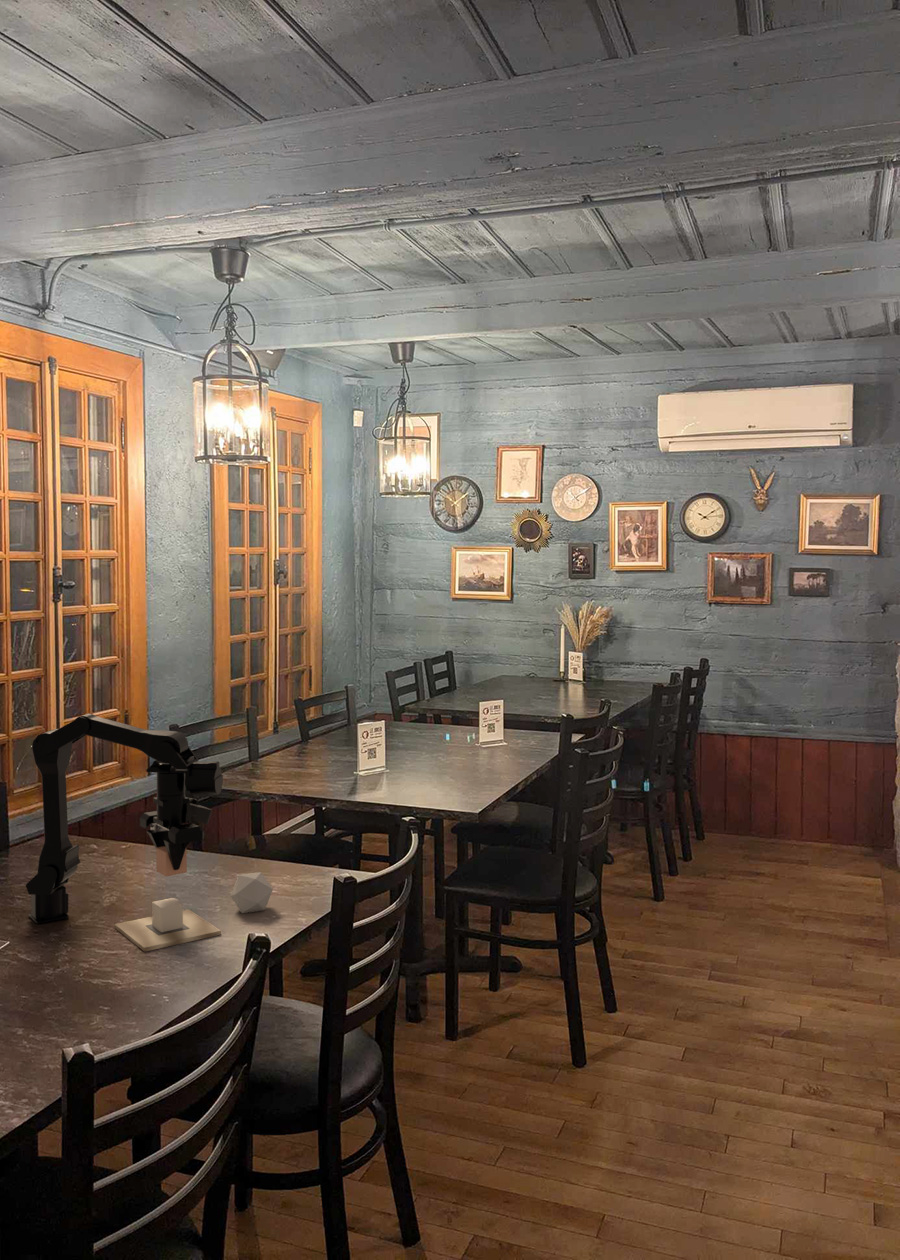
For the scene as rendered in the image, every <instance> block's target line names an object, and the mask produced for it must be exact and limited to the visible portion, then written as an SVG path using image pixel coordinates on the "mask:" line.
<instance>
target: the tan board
mask: <svg viewBox="0 0 900 1260" xmlns="http://www.w3.org/2000/svg"><path fill="white" fill-rule="evenodd" d="M114 929H116V930H117V931H118V932H119V933H120V934H121V935H123V936H124V937H126V938H127V939H128V940H129V941H131V943H133V944H134V945H136V947H137V948H140V949H141V951H143V952H149V951H153V950H159V949H162V948H163V949H164V948H167V947H171V946H177V945H181V944H185V943H190V942H193V941H198V940H202V939H206V938H211V937H217V936H220V935H222V930H221V929H219V928H217V927H216V926H215V925H213V924H212V923H210V922H209V921H208V920H205V919H204V918H202V917H201V916H200V915H198V914H196V913H195V912H193V911H192V910H190V909H189V908H188V909H187V908H186V909H183V928H179V929H174V930H170V931H165V932H160V931H159V930H157V929H156V928H154V927H153V926H152V916H146V917H143V918H138V919H134V920H133V919H132V920H129V921H123V922H118V923H115V924H114Z"/></svg>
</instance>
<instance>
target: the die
mask: <svg viewBox="0 0 900 1260" xmlns="http://www.w3.org/2000/svg"><path fill="white" fill-rule="evenodd" d="M273 889H274V888H273V886H271V884H270V882H268V880H267V878H266V876H265V875H264V874H263V872H260V871H259V872H251V873H243V874H238V875H237V877H236V881H235V883H234V885H233V888H232V891H231V892H230V895H229V896H230V897H231V899H232V901H233V902H234V904H235V906H236V907H237V908H238V910H239V911H240V913H241V914H249V913H254V912H255V911H256V912H261V911H266V909H267V905H268V903H269V900H270V899H271V895H272V893H273ZM248 912H249V913H248Z"/></svg>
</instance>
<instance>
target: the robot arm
mask: <svg viewBox="0 0 900 1260" xmlns="http://www.w3.org/2000/svg"><path fill="white" fill-rule="evenodd" d="M86 736H88V737H93V738H94V739H95V738H96V739H99V740H104V741H107V742H109V743H115V744H118V745H122V746H126V747H129V748H131V749H135V750H136V749H137V750H138V751H140V752H142V753H143V754H144V755H146V756H147V757H150V758H151V759H153V762H152V763H151V765H149V767H148V768H146V772H147V773H153V774H154V773H156V797H153V798H152V803H154V804H155V805H156V810H154V811H148V812H143V813H142V815H141V816H139V827H140V828H143V829H147V830H146V833H147V834H148V836H149V838H150V840H151V842H152V843H153V846H154V847H155V849H156V848H158V847H164V846H166V849H167V852H168V855H169V858H170V861H171V864H172V867H173V869H174V870H178V869H179V868H180V865H181V862H182V859H183V855H184V852H185V850H186V849H187V847H188V845H189V844H190V843H192V842H198V841H203V840H205V830H204V829H203V827H202V826H200V825H197V824H195V823H193V822H192V821H195V822H200V823H203V824H204V825H209V821H210V819H211V816H212V812H213V809H211V808H209V807H207V806H203V805H200V804H199V800H198V799H196V798H193V797H186V792H187V791H188V792H189V793H190V794H191V795H220V794H221V792H222V789H223V788H222V787H223V783H224V782H223V781H224V775H223V771H222V769H221V767H220V762H219V761H217V760H213V761H212V760H211V761H199V758H198V757H197V756H196V754H195V753H194V751H193V750H192V749H191V748H190V746H189V741H188V739H187V737H186V735H185V734H184V733H182V732H180V731H176V730H163V729H161V730H160V729H157V730H156V729H155V730H153V729H145V728H140V727H138V726H133V725H129V724H126V723H123V722H118V721H115V720H111V719H107V718H105V717H100V716H97V715H95V714H93V713H86V714H83V715H80V716H77V717H76V718H75V719H74V720H72V721H70V722H68V723H67V724H65V725H63V726H62V727H60V728H55V729H51V730H48V731H46V732H43V733H40V734H39V735H37V736H36V737H35V738H34V739H33V740H32V742H31V743H32V744H31V750H32V755H33V759H34V764H35V766H37V769H38V771H39V773H40V775H41V786H42V787H41V788H42V789H41V790H42V812H43V814H42V815H43V834H44V835H43V836H44V838H43V839H44V843H43V846H42V848H41V851H40V854H39V857H38V864H37V874H36V875H34V876H33V877H32V879H30V880H29V881H28V882H27V883H26V884H25V888H26V890H27V893H28V895H31V896H30V898H31V899H30V900H31V903H30V904H31V905H30V906H31V907H30V909H31V912H30V913H28V917H29V918H30V919H32V920H33V921H34V922H35V923H36V924H38V925H40V924H44V923H50V922H54V921H59V920H65V919H69V917H70V915H69V914H68V913H69V911H70V910H69V908H70V907H69V893H68V892H67V887H66V886H64V885H66V884H68V883H69V881H70V877H72V876H73V875H74V874H75V873H76V871H77V869H78V865H79V864H81V860H80V857H79V855H80V854H79V852H80V846H79V844H76V845H73V844H72V841H70V838H69V824H68V799H67V778H66V777H67V775H66V773H67V768H68V765H69V763H70V759H71V757H72V751H73V745H74V744H75V743H76V742H79V741H80V740H82V739H83V738H84V737H86ZM149 826H150V829H148V828H149Z"/></svg>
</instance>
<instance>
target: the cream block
mask: <svg viewBox="0 0 900 1260" xmlns="http://www.w3.org/2000/svg"><path fill="white" fill-rule="evenodd" d="M151 903H152V904H151V906H152V907H151V909H152V910H151V913H152V914H151V917H152V926H153V927H154V928H156V929H157V930H159V931H160V932H165V931H170V930H174V929H179V928H183V910H184V904H183V902H181V901H180V900H178V899H177V898H175V897H170V898H166V899H160V900H155V901H152V902H151Z"/></svg>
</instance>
